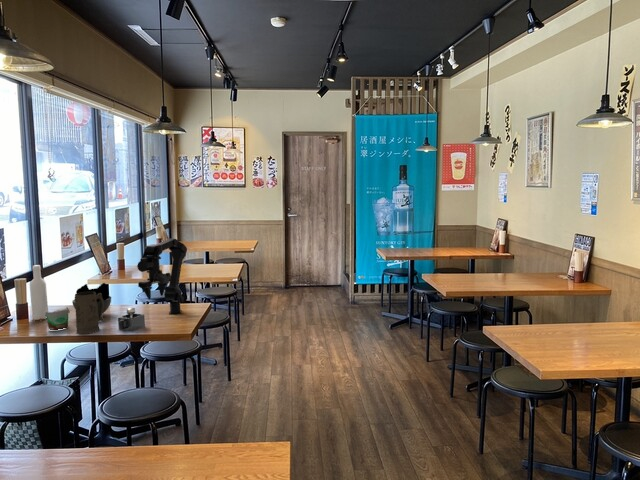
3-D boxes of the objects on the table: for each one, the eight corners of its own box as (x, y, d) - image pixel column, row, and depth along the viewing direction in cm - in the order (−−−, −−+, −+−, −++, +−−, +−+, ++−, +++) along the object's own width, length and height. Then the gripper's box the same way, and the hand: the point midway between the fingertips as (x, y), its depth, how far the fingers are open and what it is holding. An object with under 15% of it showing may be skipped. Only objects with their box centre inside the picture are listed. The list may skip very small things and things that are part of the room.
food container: (53, 333, 260) (51, 313, 259) (46, 331, 264) (44, 312, 263) (76, 327, 271) (74, 308, 270) (69, 325, 274) (67, 306, 273)
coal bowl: (65, 320, 283) (63, 287, 281) (87, 311, 303) (85, 279, 301) (99, 321, 280) (97, 287, 278) (119, 312, 300) (117, 280, 297)
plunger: (131, 325, 271) (130, 306, 270) (141, 326, 268) (140, 307, 267) (122, 328, 265) (120, 309, 264) (132, 330, 262) (130, 310, 261)
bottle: (40, 321, 284) (35, 267, 280) (29, 320, 286) (24, 266, 283) (52, 317, 291) (47, 264, 288) (41, 316, 294) (36, 264, 290)
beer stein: (87, 335, 255) (86, 295, 254) (70, 333, 259) (69, 293, 258) (109, 328, 270) (109, 290, 269) (93, 327, 273) (92, 289, 272)
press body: (132, 325, 272) (131, 312, 272) (145, 326, 269) (144, 314, 268) (114, 331, 262) (114, 318, 261) (128, 332, 258) (127, 320, 258)
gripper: (153, 272, 264) (154, 302, 266) (177, 266, 281) (179, 294, 282) (136, 271, 269) (138, 300, 270) (161, 265, 285) (163, 293, 287)
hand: (155, 297), depth 278 cm, fingers open, 9 cm apart
